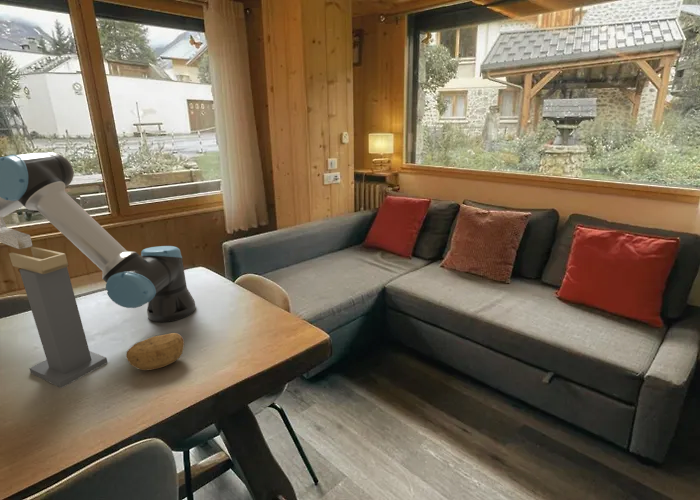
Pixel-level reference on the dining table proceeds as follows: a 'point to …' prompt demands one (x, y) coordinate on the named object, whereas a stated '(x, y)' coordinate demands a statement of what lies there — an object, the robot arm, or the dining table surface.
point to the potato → (156, 351)
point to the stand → (56, 317)
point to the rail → (14, 238)
